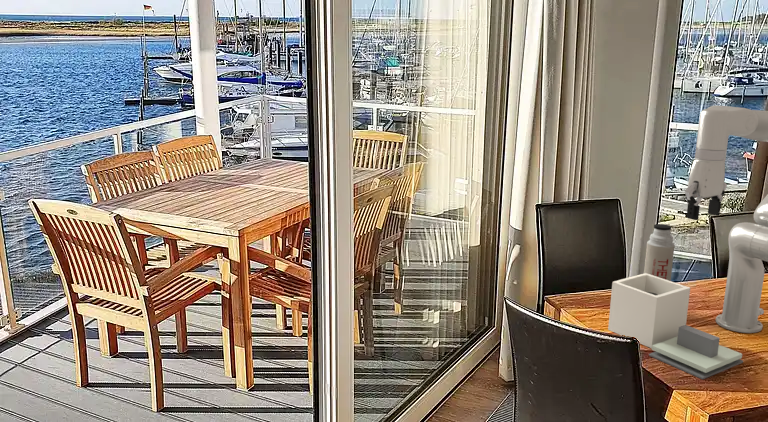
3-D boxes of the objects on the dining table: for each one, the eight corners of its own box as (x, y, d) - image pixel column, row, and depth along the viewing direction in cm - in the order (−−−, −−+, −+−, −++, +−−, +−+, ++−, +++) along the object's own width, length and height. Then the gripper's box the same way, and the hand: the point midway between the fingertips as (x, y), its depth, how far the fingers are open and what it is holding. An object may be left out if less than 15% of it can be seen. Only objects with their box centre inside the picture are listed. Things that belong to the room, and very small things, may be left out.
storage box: (640, 319, 211) (645, 273, 208) (684, 336, 199) (690, 287, 195) (608, 329, 203) (612, 281, 200) (651, 348, 191) (656, 297, 188)
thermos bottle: (667, 316, 213) (676, 230, 206) (639, 313, 216) (648, 227, 209) (667, 307, 220) (676, 223, 214) (640, 304, 223) (649, 221, 217)
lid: (687, 339, 196) (690, 316, 194) (741, 361, 183) (744, 336, 181) (651, 352, 187) (654, 328, 185) (705, 376, 174) (708, 350, 172)
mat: (689, 340, 196) (689, 339, 196) (743, 362, 183) (743, 360, 183) (648, 355, 187) (648, 353, 187) (702, 379, 174) (702, 377, 174)
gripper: (716, 150, 192) (709, 210, 196) (678, 155, 183) (671, 217, 187) (742, 154, 186) (734, 215, 190) (704, 159, 177) (696, 223, 181)
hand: (703, 216), depth 189 cm, fingers open, 9 cm apart
